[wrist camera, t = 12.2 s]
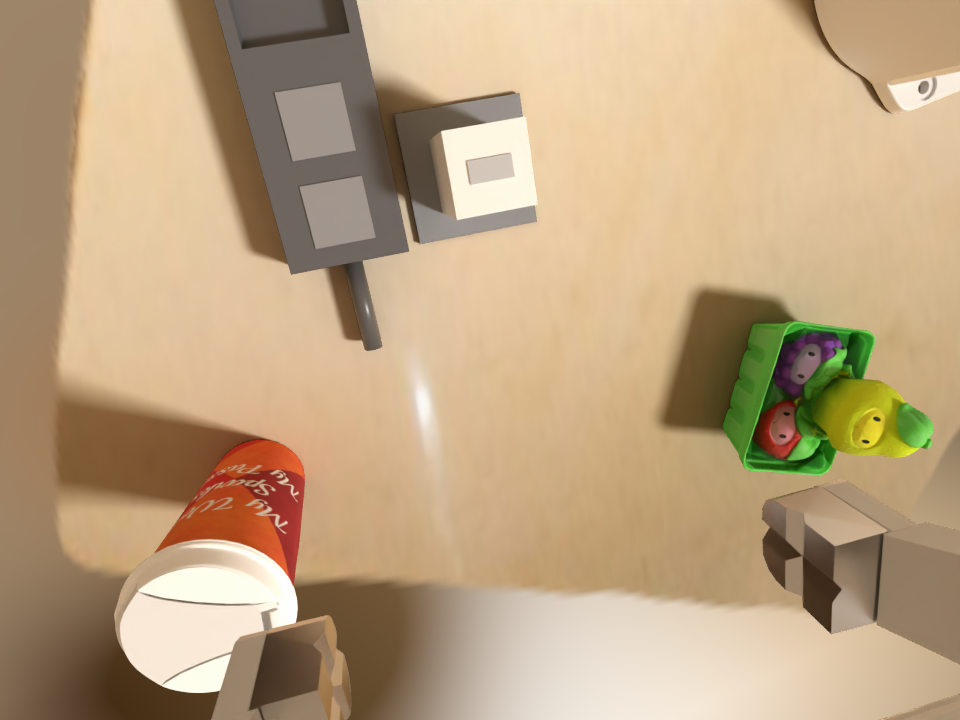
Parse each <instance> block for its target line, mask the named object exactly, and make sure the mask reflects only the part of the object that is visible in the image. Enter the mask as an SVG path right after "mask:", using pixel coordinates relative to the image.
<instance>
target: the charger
mask: <svg viewBox="0 0 960 720" xmlns="http://www.w3.org/2000/svg"><path fill="white" fill-rule="evenodd" d="M429 143H430V149H431V154H432V159H433V165H434V170H435V175H436V181H437V186H438V191H439V197H440V202H441V207H442V213H443V214H445V215H447V216H449V217H452V218H454V219H456V220H460V219H465V218H470V217H476V216H481V215H486V214H491V213H496V212H502V211H507V210H512V209H517V208H522V207H528V206H533V205H537V198H536V190H535V183H534V175H533V168H532V160H531V153H530V145H529V138H528V130H527V123H526V116H525V117H520V118H514V119H508V120H502V121H497V122H491V123H485V124H479V125H474V126H468V127H462V128H456V129H451V130H445V131H441V132H439V133H438V134H437V135H435V136H434V137H433V138H432V139H430V140H429Z"/></svg>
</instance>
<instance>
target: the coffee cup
mask: <svg viewBox="0 0 960 720" xmlns="http://www.w3.org/2000/svg"><path fill="white" fill-rule="evenodd" d="M304 486H305V475H304V469H303V466H302V464H301V462H300V460H299V458H298V457H297V456H296V454H295V453H294V452H293V451H291V450H290V449H289V448H287V447H286V446H284V445H282V444H280V443H277V442H274V441H269V440H252V441H248V442H245V443H242V444H240V445H238V446H236V447H234V448H233V449H232V450H230V451H229V452H228V453H227V454H226V455H225V456H224V458H223V459H222V460H221V461H220V462H219V464H218V465H217V466H216V468H215V469H214V470H213V472H212V473H211V474H210V476H209V477H208V478H207V480H206V481H205V483H204V484H203V485H202V487H201V488H200V490H199V491H198V492H197V494H196V495H195V496H194V498H193V499H192V501H191V502H190V503H189V505H188V506H187V508H186V509H185V510H184V512H183V513H182V515H181V516H180V518H179V519H178V520H177V522H176V523H175V525H174V526H173V527H172V529H171V530H170V532H169V533H168V534H167V536H166V537H165V539H164V540H163V542H162V543H161V544H160V546H159V547H158V549H157V550H156V551H155V553H154V554H153V555H151V556H150V557H148V558H147V559H145V560H144V561H143V562H142V563H141V564H140V565H138V566H137V567H136V568H135V569H134V570H133V572H132V573H131V575H130V576H129V577H128V579H127V580H126V582H125V584H124V586H123V588H122V590H121V593H120V597H119V600H118V604H117V607H116V610H115V613H114V617H115V623H116V624H115V629H116V634H117V638H118V641H119V643H120V645H121V647H122V649H123V651H124V652H125V654H126V656H127V657H128V659H129V660H130V662H131V664H133V666H134V667H135V668H136V669H137V670H138V671H140V672H141V673H142V674H144V675H145V676H147V677H148V678H149V679H151V680H153V681H154V682H156V683H158V684H159V685H161V686H163V687H166V688H169V689H173V690H177V691H183V692H191V693H193V692H195V693H204V692H214V691H219V690H220V689H221V686H222V683H223V680H224V676H225V673H226V670H227V666H228V663H229V660H230V656H231V653H232V650H233V647H234V644H235V642H236V641H237V640H238V639H239V638H240V637H241V636H245V635H249V634H253V633H257V632H261V631H265V630H270V629H272V628H276V627H280V626H284V625H288V624H293V623H295V622H296V616H297V598H296V594H295V590H294V587H293V586H294V578H295V569H296V562H297V555H298V548H299V541H300V530H301V518H302V508H303V498H304Z"/></svg>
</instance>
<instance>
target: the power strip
mask: <svg viewBox="0 0 960 720" xmlns="http://www.w3.org/2000/svg"><path fill="white" fill-rule="evenodd" d="M214 3H215V6H216V10H217V13H218V17H219V21H220V24H221V28H222V31H223V35H224V38H225V42H226V45H227V49H228V52H229V56H230V60H231V63H232V67H233V70H234V74H235V77H236V81H237V84H238V88H239V92H240V95H241V99H242V102H243V106H244V109H245V113H246V116H247V120H248V123H249V127H250V131H251V134H252V138H253V141H254V145H255V148H256V152H257V155H258V159H259V162H260V166H261V170H262V173H263V177H264V180H265V184H266V187H267V191H268V194H269V198H270V202H271V205H272V209H273V212H274V216H275V219H276V223H277V226H278V230H279V233H280V237H281V241H282V244H283V248H284V251H285V255H286V258H287V262H288V265H289V269H290V273H291V275H292V274H297V273H302V272H307V271H312V270H317V269H322V268H327V267H332V266H337V265H342V264H343V265H344V269H345V273H346V277H347V281H348V285H349V289H350V293H351V297H352V301H353V305H354V309H355V313H356V317H357V321H358V325H359V329H360V333H361V337H362V341H363V345H364V349H365V350H366V351H370V350H376V349H379V348H381V347H382V342H381V338H380V333H379V329H378V325H377V321H376V317H375V312H374V308H373V304H372V300H371V296H370V291H369V287H368V283H367V279H366V275H365V270H364V266H363V262H362V261H363V260H368V259H373V258H378V257H383V256H388V255H393V254H398V253H404V252H409V248H408V243H407V239H406V234H405V229H404V224H403V220H402V215H401V210H400V205H399V201H398V196H397V191H396V186H395V182H394V177H393V172H392V167H391V163H390V158H389V153H388V148H387V144H386V139H385V134H384V129H383V125H382V120H381V115H380V110H379V106H378V101H377V96H376V91H375V87H374V82H373V77H372V72H371V68H370V63H369V58H368V53H367V49H366V44H365V39H364V34H363V30H362V25H361V20H360V15H359V11H358V6H357V1H356V0H214Z"/></svg>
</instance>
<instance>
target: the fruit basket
mask: <svg viewBox="0 0 960 720" xmlns="http://www.w3.org/2000/svg"><path fill="white" fill-rule="evenodd" d="M874 344H875V337H874V335H873V334H872V333H871V332H869V331H865V330H856V329H849V328H841V327H834V326H826V325H819V324H813V323H806V322H800V321H792V322H786V323H763V324H754V325H753V326H752V328H751V332H750V335H749V339H748V349H747V350H746V352H745V353H744V356H743V359H742V362H741V366H740V369H739V379H738V380H737V382H736V383H735V386H734V389H733V393H732V396H731V400H730V406H731V407H730V408H729V410H728V411H727V413H726V416H725V419H724V423H723V430H724V431H725V433H726V434H727V436H728V438H729V439H730V441H731V442H732V444H733V446H734V447H735V449H736V450H737V452H738V453H739V458H740V460H741V462H742V464H743V466H744V467H745V468H746V469H747V470H750V471H763V472H777V473H792V474H802V475H814V476H820V475H823V474H825V473H826V472H828V470H829V469H830V468H831V466H832V463H833V461H834V458H835V455H836V452H837V450H838V451H841V452H844V453H847V454H852V455H863V456H864V455H883V456H886V457H894V458H897V457H904V456H907V455H909V454H911V453H913V452H915V451H916V450H918V449H919V448H924V449H929V448H930V446H931V444H932V440H931V439H929V437H930V436H931V435H932V433H933V424H932V422H931V420H930V419H929V418H928V417H927V416H926V415H925V414H924V413H922V412H920V411H918V410H917V409H915V408H913V407H912V406H911V405H909V404H908V403H906V402H905V401H904V399H903V398H902V397H901V396H900V395H899V394H898V393H897V392H896V391H895V390H894V389H893V388H892V387H890V386H888V385H887V384H885V383H883V382H881V381H877V380H864V379H863V377H864V374H865V372H866V369H867V366H868V363H869V360H870V357H871V354H872V351H873V348H874Z"/></svg>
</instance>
